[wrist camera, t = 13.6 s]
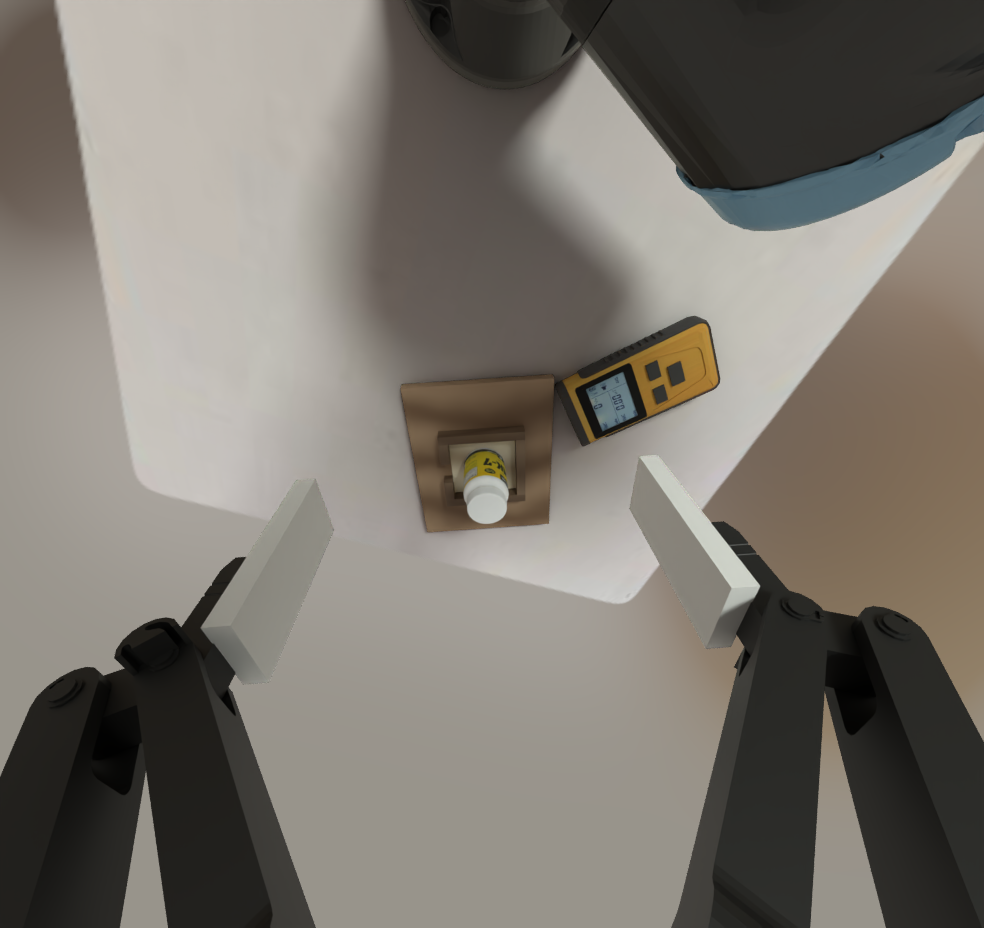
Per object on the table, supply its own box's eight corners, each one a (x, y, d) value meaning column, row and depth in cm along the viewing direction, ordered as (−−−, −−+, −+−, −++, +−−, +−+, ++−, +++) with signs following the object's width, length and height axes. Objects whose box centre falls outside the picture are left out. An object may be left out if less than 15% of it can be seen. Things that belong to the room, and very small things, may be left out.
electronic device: (708, 378, 43) (726, 389, 40) (577, 438, 46) (585, 452, 44) (694, 307, 39) (712, 315, 36) (551, 379, 42) (557, 391, 39)
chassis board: (401, 384, 41) (398, 394, 39) (552, 374, 41) (557, 383, 39) (428, 526, 52) (426, 540, 50) (547, 517, 52) (550, 531, 50)
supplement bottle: (512, 461, 46) (521, 507, 39) (486, 486, 47) (489, 534, 40) (481, 438, 44) (484, 482, 37) (455, 465, 45) (453, 512, 38)
